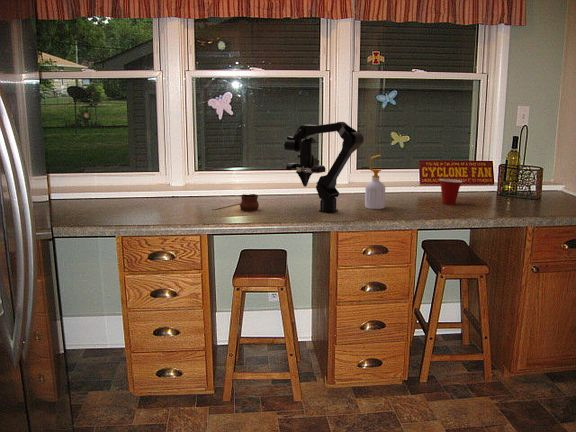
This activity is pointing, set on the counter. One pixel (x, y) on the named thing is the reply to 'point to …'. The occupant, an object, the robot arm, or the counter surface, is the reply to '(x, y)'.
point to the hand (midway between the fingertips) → (305, 186)
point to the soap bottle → (375, 191)
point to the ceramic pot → (249, 202)
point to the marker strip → (226, 206)
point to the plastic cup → (449, 190)
